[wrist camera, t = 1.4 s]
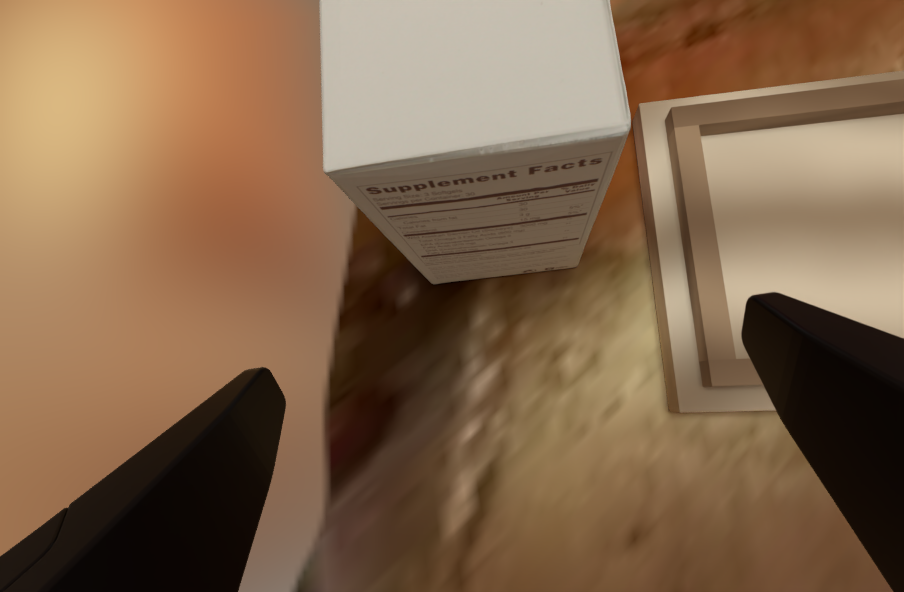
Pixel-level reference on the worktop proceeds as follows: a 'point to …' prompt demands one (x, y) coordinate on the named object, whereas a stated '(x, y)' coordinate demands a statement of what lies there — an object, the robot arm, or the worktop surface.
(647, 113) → the display stand
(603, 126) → the supplement box
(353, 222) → the worktop surface
